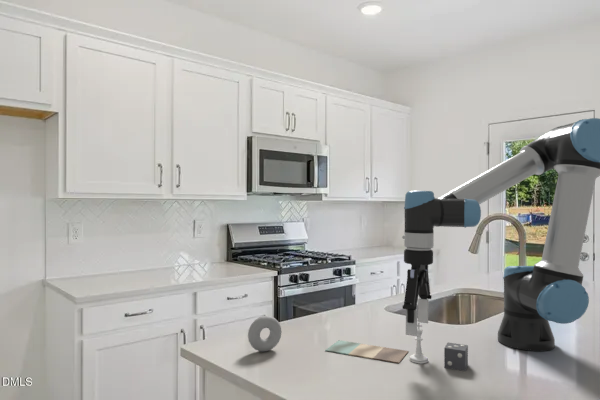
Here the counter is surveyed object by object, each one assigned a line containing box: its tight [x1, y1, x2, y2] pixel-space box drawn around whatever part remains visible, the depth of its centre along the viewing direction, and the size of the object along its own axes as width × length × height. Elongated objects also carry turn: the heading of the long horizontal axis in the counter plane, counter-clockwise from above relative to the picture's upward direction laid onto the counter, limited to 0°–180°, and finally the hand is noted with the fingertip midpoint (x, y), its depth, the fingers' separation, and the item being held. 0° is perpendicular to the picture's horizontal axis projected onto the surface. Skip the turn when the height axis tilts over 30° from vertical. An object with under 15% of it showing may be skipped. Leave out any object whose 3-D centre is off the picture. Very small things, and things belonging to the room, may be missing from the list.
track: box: [325, 339, 409, 364], centre depth 125 cm, size 21×10×1 cm, turn 62°
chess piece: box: [408, 321, 429, 364], centre depth 118 cm, size 5×5×10 cm
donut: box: [247, 315, 282, 353], centre depth 125 cm, size 10×3×10 cm, turn 117°
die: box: [443, 342, 469, 372], centre depth 113 cm, size 5×5×5 cm
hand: (417, 328), depth 118 cm, fingers open, 13 cm apart
